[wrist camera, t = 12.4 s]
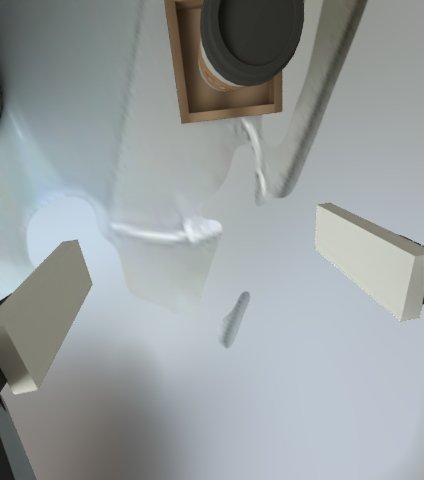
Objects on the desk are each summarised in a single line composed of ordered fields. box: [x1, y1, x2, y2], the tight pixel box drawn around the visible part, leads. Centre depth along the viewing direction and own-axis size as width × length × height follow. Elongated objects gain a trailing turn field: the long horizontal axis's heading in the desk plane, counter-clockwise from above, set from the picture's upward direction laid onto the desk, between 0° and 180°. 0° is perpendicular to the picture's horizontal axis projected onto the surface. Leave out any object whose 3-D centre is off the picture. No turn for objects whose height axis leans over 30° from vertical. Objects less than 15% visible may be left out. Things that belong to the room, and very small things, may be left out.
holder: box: [165, 0, 282, 124], centre depth 33 cm, size 13×13×4 cm
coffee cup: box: [198, 0, 304, 92], centre depth 27 cm, size 8×8×15 cm
